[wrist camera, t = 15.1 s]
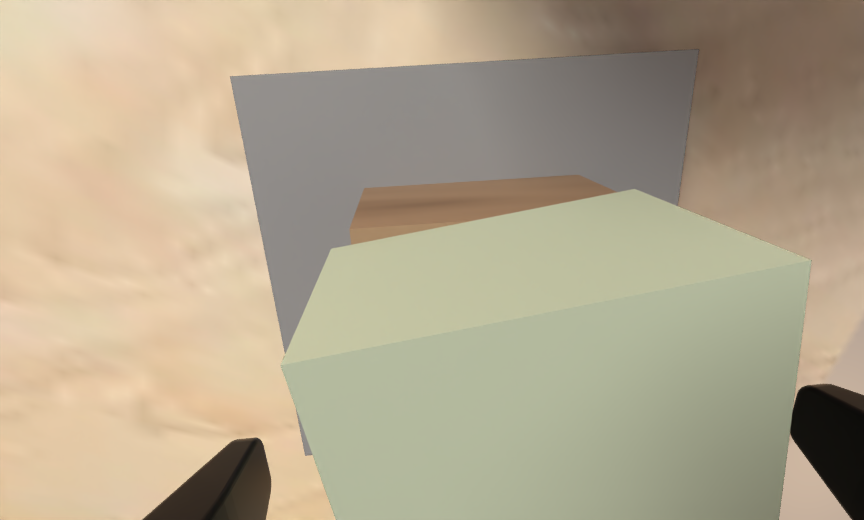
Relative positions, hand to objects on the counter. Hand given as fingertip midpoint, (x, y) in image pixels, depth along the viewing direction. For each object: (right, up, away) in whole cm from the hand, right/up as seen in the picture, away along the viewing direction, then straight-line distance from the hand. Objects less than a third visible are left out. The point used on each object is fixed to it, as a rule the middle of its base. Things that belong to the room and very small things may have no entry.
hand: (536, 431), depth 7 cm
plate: (-1, +3, +7) cm, 8 cm away
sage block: (0, +1, +2) cm, 2 cm away
